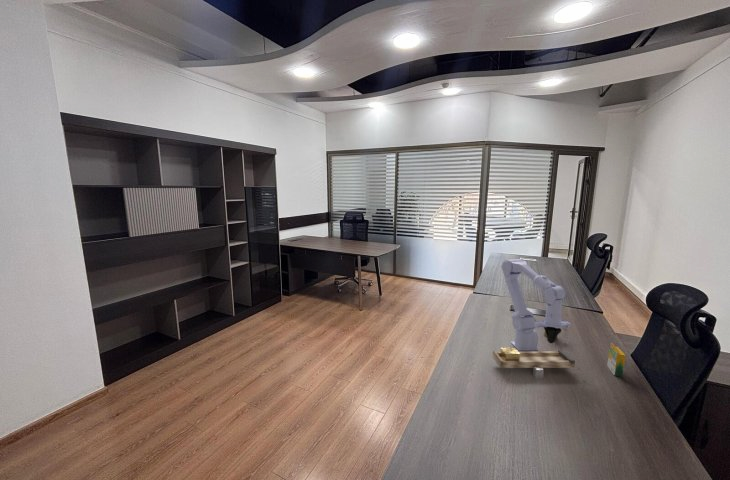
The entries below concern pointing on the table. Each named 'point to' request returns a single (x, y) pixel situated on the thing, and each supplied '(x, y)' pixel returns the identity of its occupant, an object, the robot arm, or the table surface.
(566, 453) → the table surface
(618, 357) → the crayon box
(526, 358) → the beam
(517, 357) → the block
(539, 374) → the grey rectangular bar
